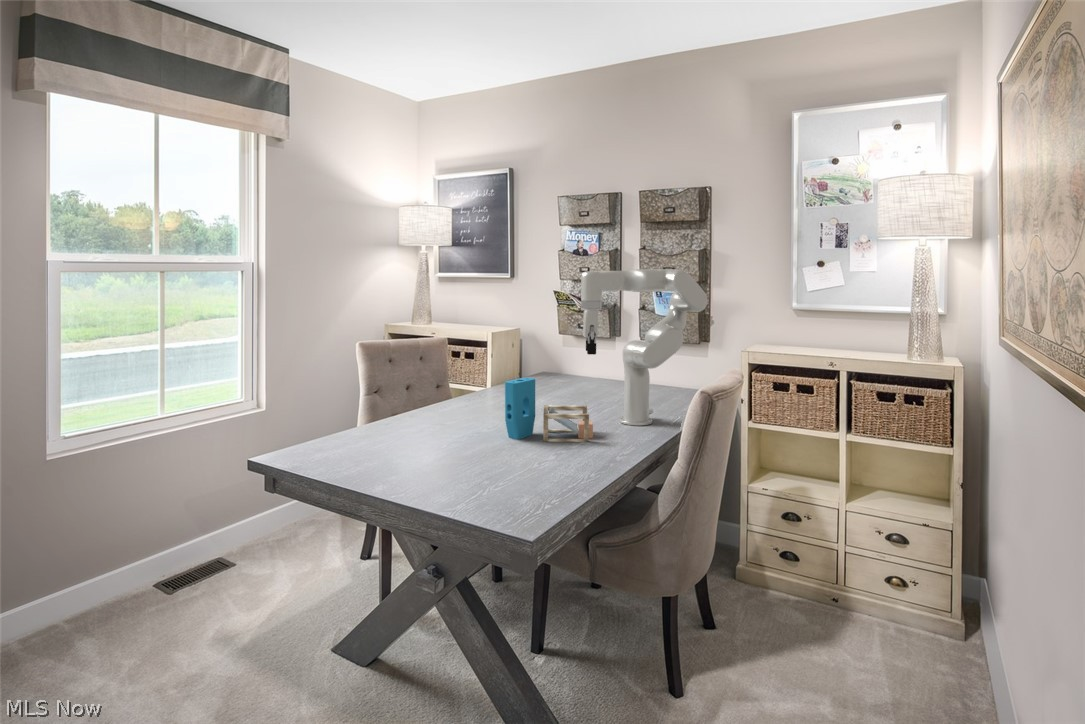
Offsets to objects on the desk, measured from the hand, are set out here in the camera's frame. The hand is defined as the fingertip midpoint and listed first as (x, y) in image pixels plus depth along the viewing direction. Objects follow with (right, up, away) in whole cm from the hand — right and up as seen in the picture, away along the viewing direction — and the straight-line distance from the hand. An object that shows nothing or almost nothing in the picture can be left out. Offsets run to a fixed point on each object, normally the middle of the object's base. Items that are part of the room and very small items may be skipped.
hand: (590, 352), depth 233 cm
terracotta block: (-5, -27, -8) cm, 29 cm away
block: (-25, -30, -7) cm, 40 cm away
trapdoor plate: (-11, -24, -9) cm, 28 cm away
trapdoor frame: (-9, -30, -8) cm, 32 cm away
